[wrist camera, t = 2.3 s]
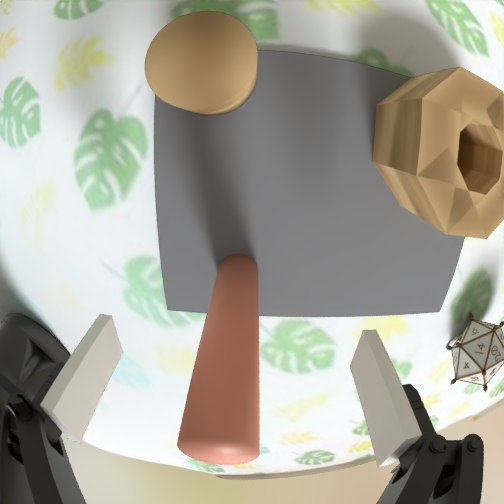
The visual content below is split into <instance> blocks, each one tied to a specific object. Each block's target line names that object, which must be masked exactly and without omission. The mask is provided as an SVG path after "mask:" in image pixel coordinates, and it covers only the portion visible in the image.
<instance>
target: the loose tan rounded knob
mask: <svg viewBox="0 0 504 504" xmlns="http://www.w3.org/2000/svg"><path fill="white" fill-rule="evenodd" d="M257 57H258V55H257V45H256V42H255V39H254V37H253V35H252V33H251V31H250V30H249V29H248V28H247V26H246V25H244V24H243V23H242V22H241V21H240V20H238V19H237V18H235V17H233V16H231V15H228V14H225V13H221V12H215V11H200V12H194V13H190V14H187V15H184V16H181V17H179V18H177V19H175V20H174V21H172V22H170V23H169V24H168V25H166V26H165V27H164V28H163V29H162V30H161V31H160V32H159V33H158V34H157V35H156V36H155V38H154V39H153V41H152V42H151V44H150V46H149V48H148V51H147V54H146V58H145V75H146V78H147V81H148V84H149V86H150V87H151V89H152V90H153V92H154V93H155V94H156V95H157V96H158V97H159V98H161V99H162V100H163V101H165V102H167V103H168V104H171V105H173V106H176V107H179V108H182V109H185V110H188V111H191V112H194V113H197V114H200V115H206V116H217V115H223V114H226V113H229V112H231V111H234V110H235V109H237V108H239V107H240V106H241V105H243V104H244V103H245V102H246V101H247V100H248V98H249V97H250V96H251V94H252V93H253V91H254V88H255V86H256V82H257Z"/></svg>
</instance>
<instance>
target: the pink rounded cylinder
mask: <svg viewBox="0 0 504 504" xmlns="http://www.w3.org/2000/svg"><path fill="white" fill-rule="evenodd" d="M177 446H178V448H179V449H180V450H181V451H182V452H183V453H184V454H186V455H187V456H189V457H191V458H194V459H196V460H199V461H203V462H207V463H212V464H220V465H236V464H243V463H247V462H250V461H253V460H254V459H256V458H257V457H258V456H259V273H258V267H257V265H256V263H255V262H254V260H252V259H251V258H250V257H248V256H246V255H242V254H233V255H230V256H228V257H226V258H225V259H224V260H223V261H222V262H221V264H220V266H219V269H218V273H217V277H216V281H215V284H214V288H213V292H212V296H211V300H210V304H209V308H208V312H207V316H206V320H205V324H204V328H203V332H202V336H201V340H200V344H199V348H198V352H197V357H196V361H195V365H194V369H193V374H192V378H191V382H190V387H189V391H188V395H187V400H186V404H185V409H184V413H183V418H182V423H181V427H180V432H179V437H178V442H177Z"/></svg>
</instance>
